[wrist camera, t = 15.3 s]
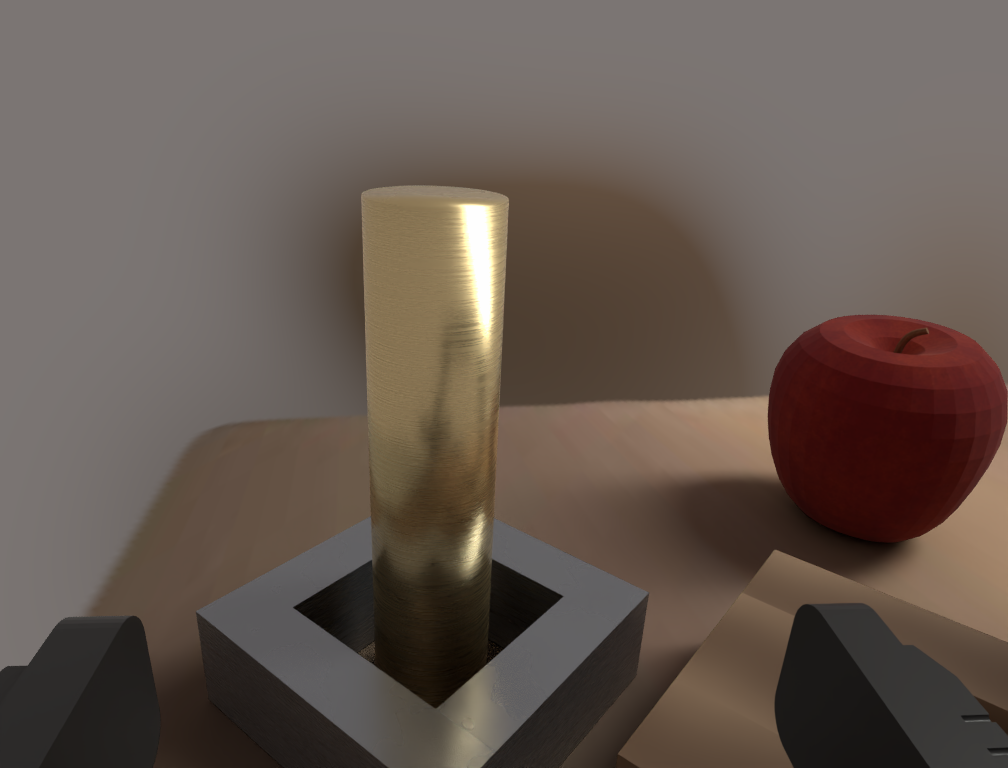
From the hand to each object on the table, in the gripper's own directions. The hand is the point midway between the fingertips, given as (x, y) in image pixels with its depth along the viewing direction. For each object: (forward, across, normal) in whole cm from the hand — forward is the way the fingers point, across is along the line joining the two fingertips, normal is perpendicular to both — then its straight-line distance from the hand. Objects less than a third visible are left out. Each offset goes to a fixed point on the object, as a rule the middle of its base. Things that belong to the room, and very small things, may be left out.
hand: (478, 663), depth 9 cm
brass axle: (+11, +1, +12) cm, 16 cm away
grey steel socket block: (+11, +1, +12) cm, 17 cm away
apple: (+21, -19, +12) cm, 31 cm away
